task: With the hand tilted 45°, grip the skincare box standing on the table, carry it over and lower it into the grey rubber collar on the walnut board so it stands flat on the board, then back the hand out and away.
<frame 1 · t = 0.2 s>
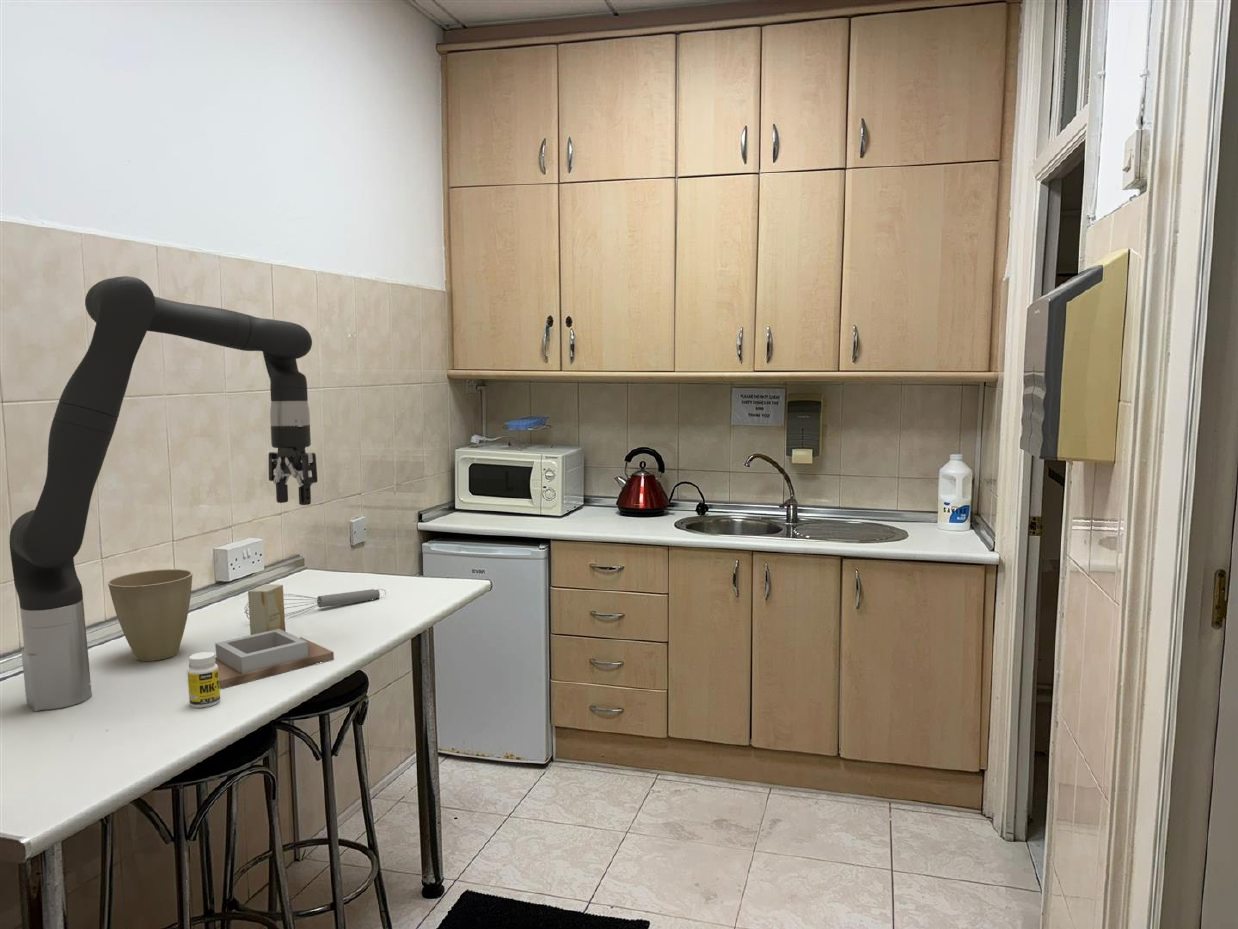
hand: (293, 503, 187), 29 cm above the table, tool pointing down, fingers open, 8 cm apart
supplement bottle: (205, 704, 157), on the table
plant pot: (157, 656, 183), on the table
skincare box: (269, 647, 187), on the table
collar: (261, 650, 175), on the board, point 2 cm above the table
kitchen whisk: (317, 612, 213), on the table
board: (262, 665, 175), on the table
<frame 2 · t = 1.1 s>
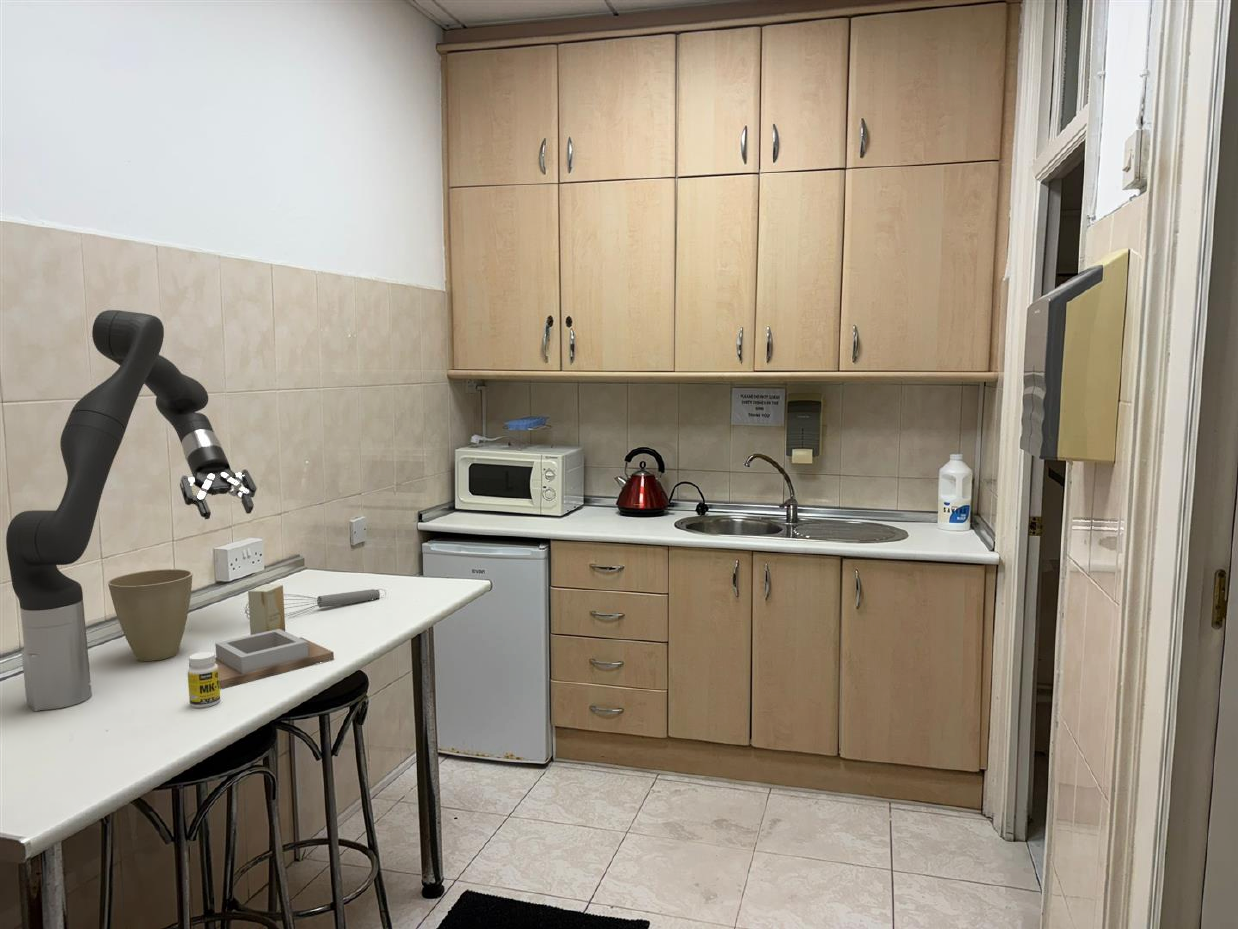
hand: (229, 514, 191), 26 cm above the table, tool tilted 45°, fingers open, 8 cm apart
nothing on the table moved.
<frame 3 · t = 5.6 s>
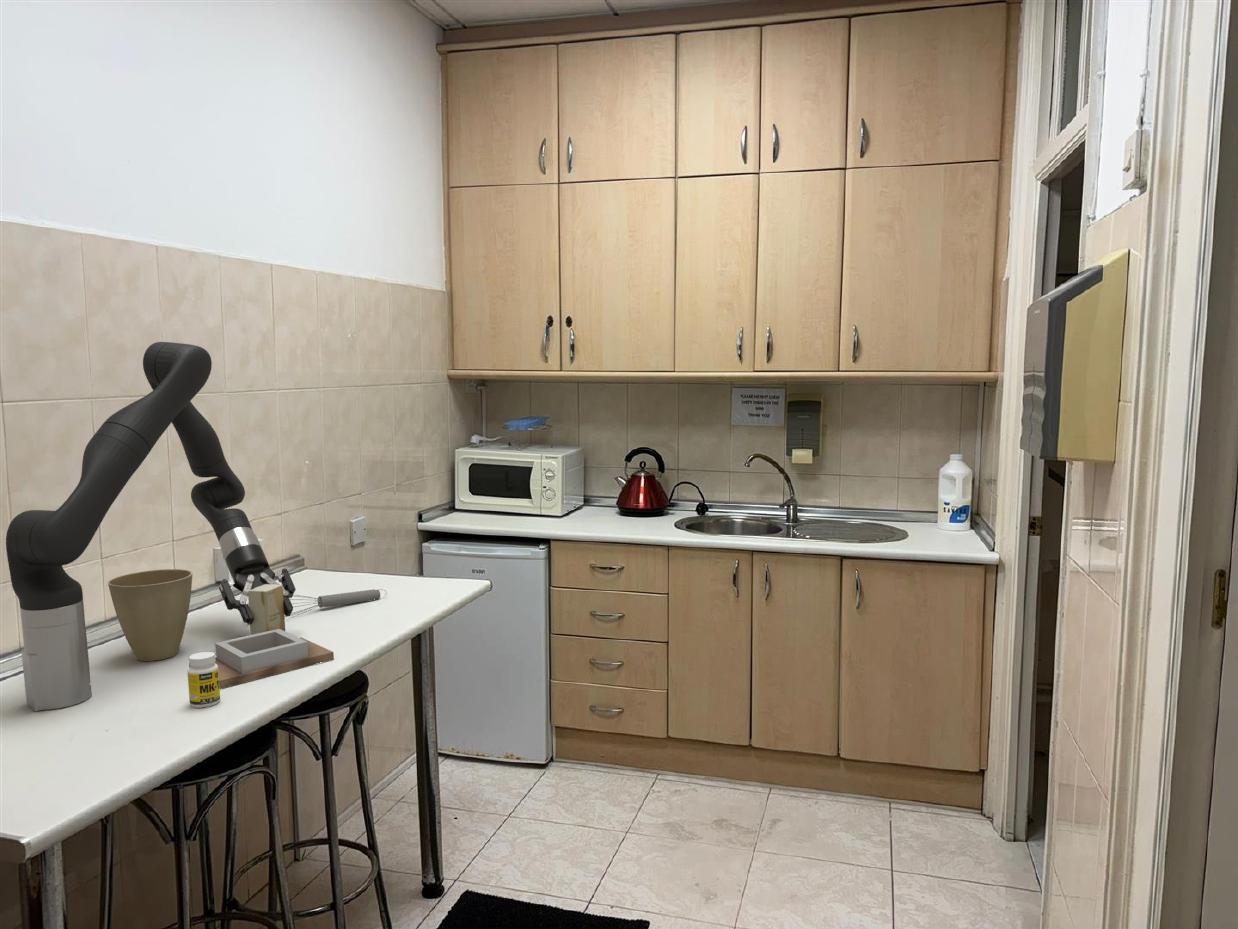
hand: (270, 618, 186), 6 cm above the table, tool tilted 45°, fingers closed on skincare box, 7 cm apart
skincare box: (269, 646, 187), on the table, touching gripper
everything else where it was.
when the fingers open (9 cm above the table, at t = 10.9 s): skincare box drops 2 cm, resting on board.
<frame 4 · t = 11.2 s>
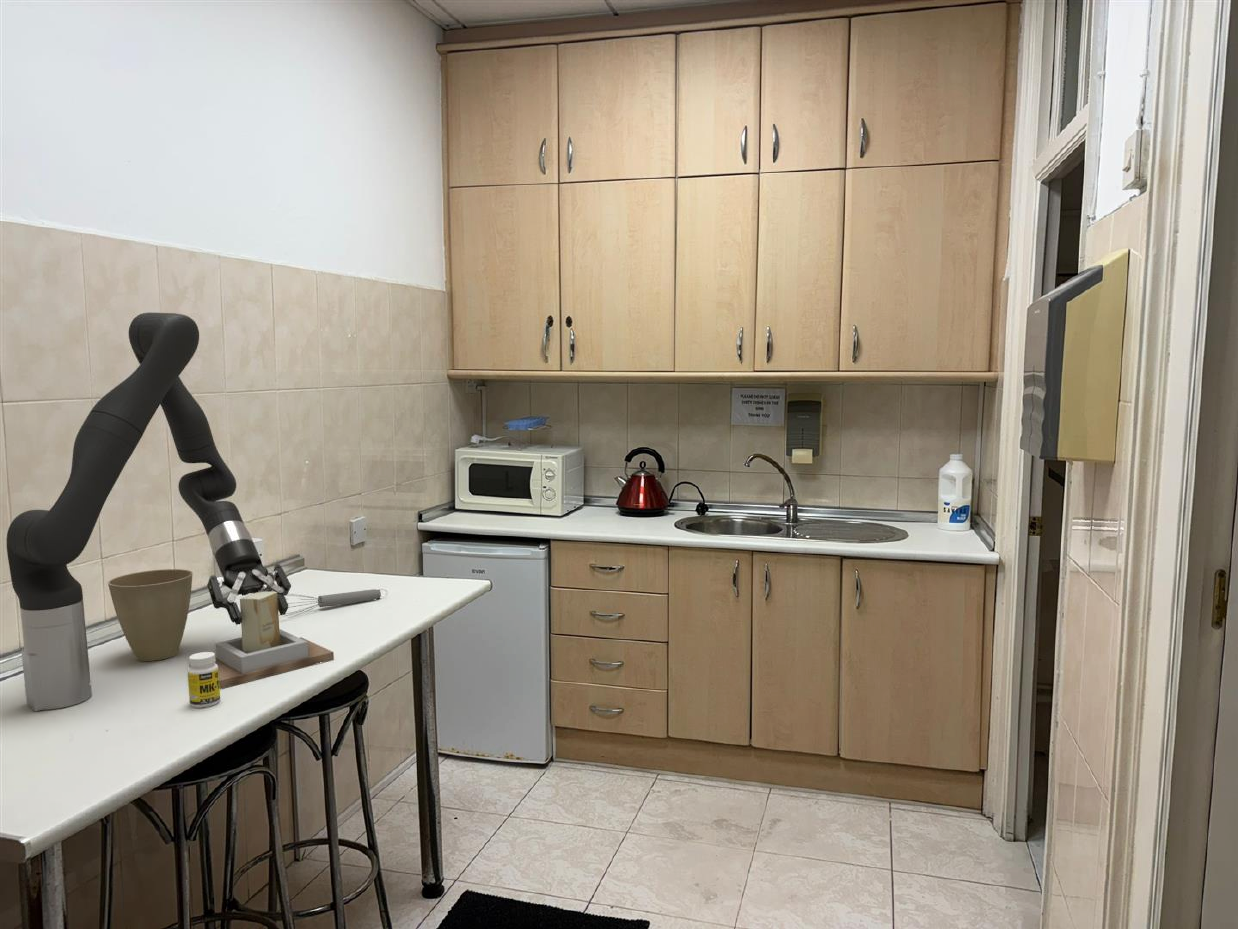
hand: (262, 617, 173), 10 cm above the table, tool tilted 45°, fingers open, 8 cm apart
skincare box: (262, 658, 175), point 1 cm above the table, touching board
everything else where it was.
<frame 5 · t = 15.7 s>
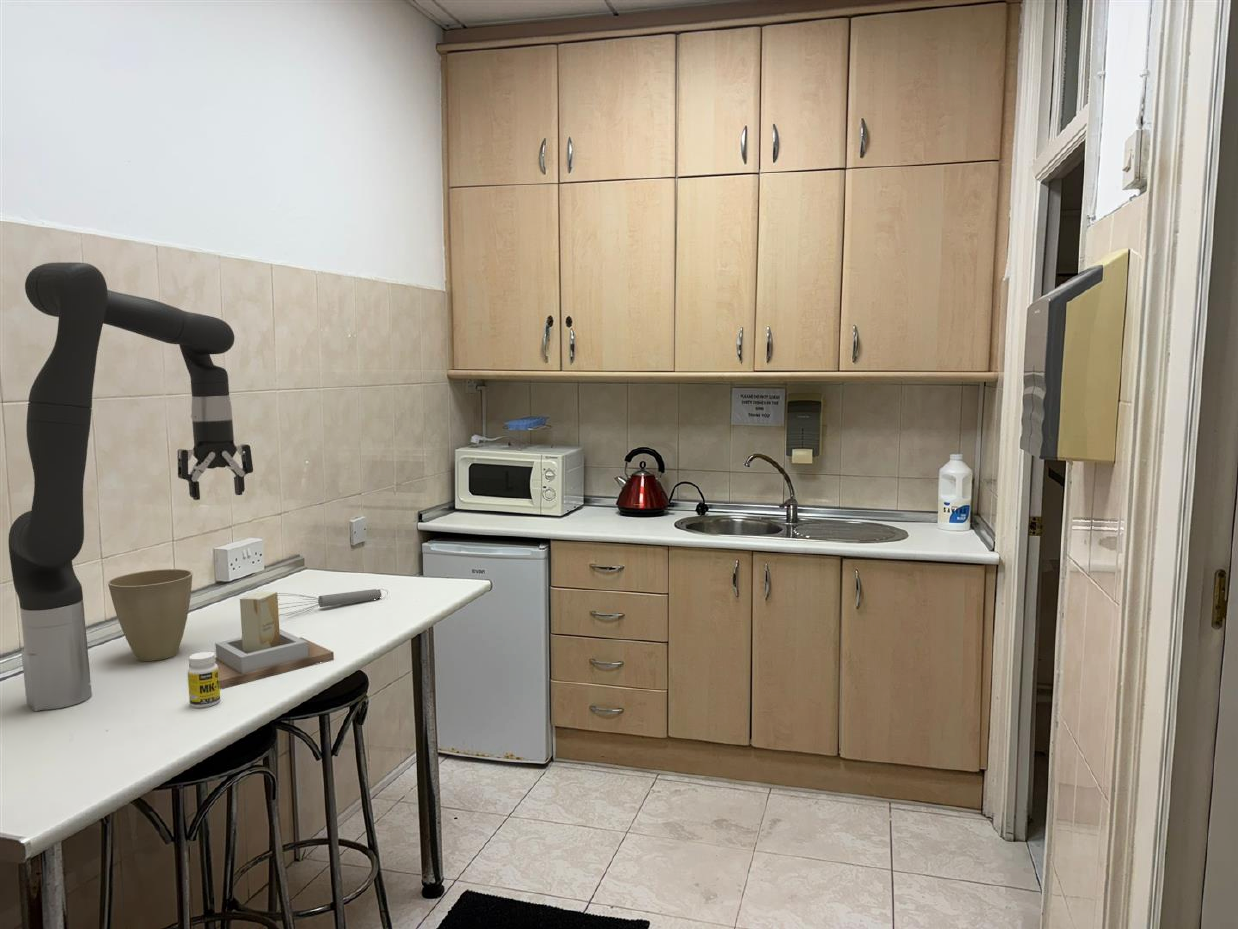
hand: (218, 497, 189), 30 cm above the table, tool pointing down, fingers open, 8 cm apart
nothing on the table moved.
at the end: skincare box 0.3 cm off-centre on the collar, point 1.3 cm above the collar's base; skincare box tilted 0°; the gripper is holding nothing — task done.
